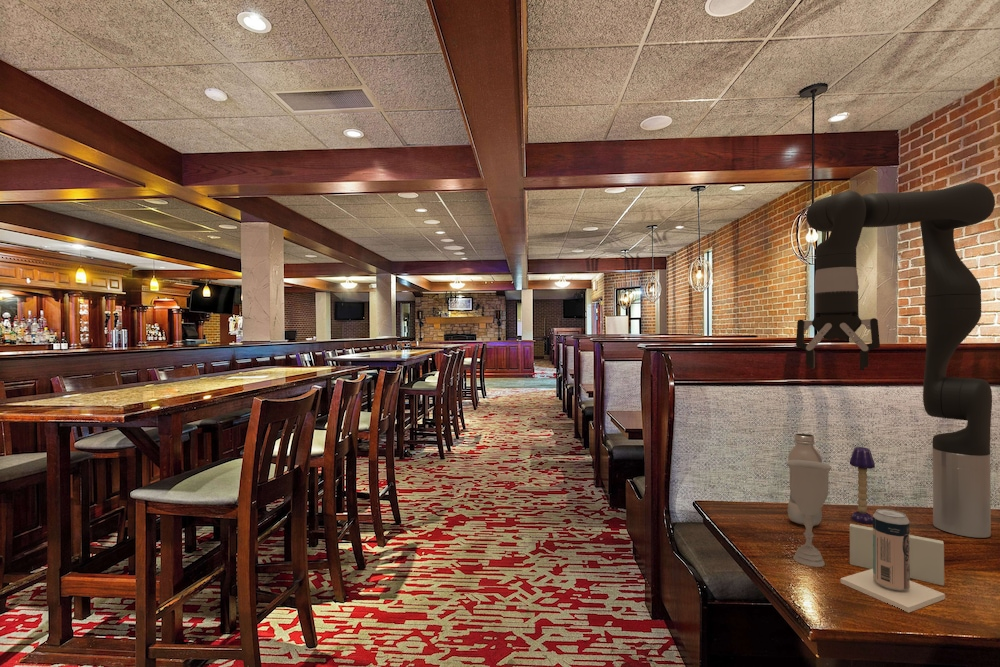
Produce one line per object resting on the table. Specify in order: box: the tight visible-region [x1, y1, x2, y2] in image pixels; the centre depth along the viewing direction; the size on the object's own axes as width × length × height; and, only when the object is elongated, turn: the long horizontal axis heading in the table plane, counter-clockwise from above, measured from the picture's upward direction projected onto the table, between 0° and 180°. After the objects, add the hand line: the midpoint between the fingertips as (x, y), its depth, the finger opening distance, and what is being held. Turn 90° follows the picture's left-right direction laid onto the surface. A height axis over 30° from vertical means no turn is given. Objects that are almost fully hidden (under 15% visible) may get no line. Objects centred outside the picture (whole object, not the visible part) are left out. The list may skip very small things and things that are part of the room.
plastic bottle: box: [787, 433, 823, 527], centre depth 111 cm, size 6×7×20 cm
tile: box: [840, 569, 946, 614], centre depth 82 cm, size 10×10×1 cm
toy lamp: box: [849, 446, 876, 525], centre depth 113 cm, size 5×5×17 cm
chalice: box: [786, 460, 833, 568], centre depth 93 cm, size 7×7×18 cm
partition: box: [849, 523, 945, 587], centre depth 88 cm, size 13×2×7 cm, turn 52°
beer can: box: [872, 508, 911, 591], centre depth 82 cm, size 5×5×12 cm
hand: (836, 369), depth 102 cm, fingers open, 8 cm apart
